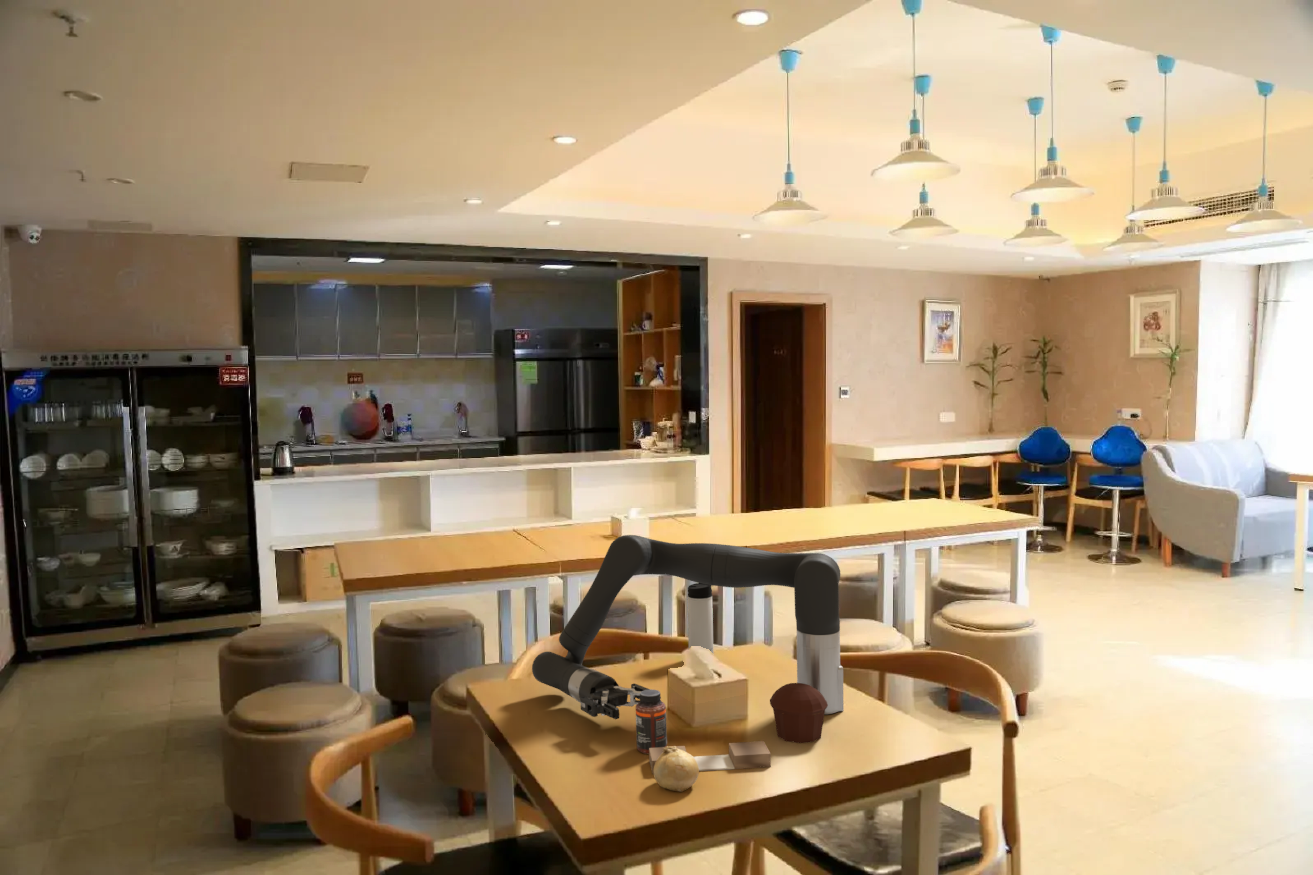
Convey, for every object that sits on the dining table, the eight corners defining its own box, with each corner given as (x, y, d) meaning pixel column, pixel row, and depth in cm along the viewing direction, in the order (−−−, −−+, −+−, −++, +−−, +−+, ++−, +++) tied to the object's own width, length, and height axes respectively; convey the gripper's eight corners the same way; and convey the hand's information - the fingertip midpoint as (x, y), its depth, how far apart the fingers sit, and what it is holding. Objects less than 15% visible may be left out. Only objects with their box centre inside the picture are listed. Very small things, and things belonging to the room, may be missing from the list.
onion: (694, 775, 171) (694, 737, 170) (702, 794, 163) (702, 754, 162) (651, 778, 170) (650, 740, 169) (657, 798, 162) (656, 758, 161)
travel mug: (715, 664, 236) (714, 585, 235) (689, 664, 236) (687, 586, 235) (714, 656, 242) (712, 580, 241) (688, 657, 242) (687, 580, 241)
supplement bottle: (671, 745, 185) (670, 688, 184) (661, 757, 179) (660, 698, 178) (642, 742, 187) (641, 686, 186) (632, 753, 181) (630, 696, 180)
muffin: (839, 734, 188) (838, 685, 188) (806, 750, 181) (806, 699, 180) (791, 720, 197) (790, 673, 196) (758, 735, 189) (757, 686, 188)
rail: (763, 753, 179) (763, 741, 179) (770, 766, 173) (770, 753, 173) (649, 761, 177) (649, 748, 177) (652, 774, 171) (652, 760, 171)
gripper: (563, 678, 196) (605, 698, 183) (620, 664, 204) (664, 683, 191) (564, 713, 196) (606, 736, 183) (621, 698, 204) (665, 719, 191)
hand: (635, 709), depth 187 cm, fingers open, 8 cm apart
